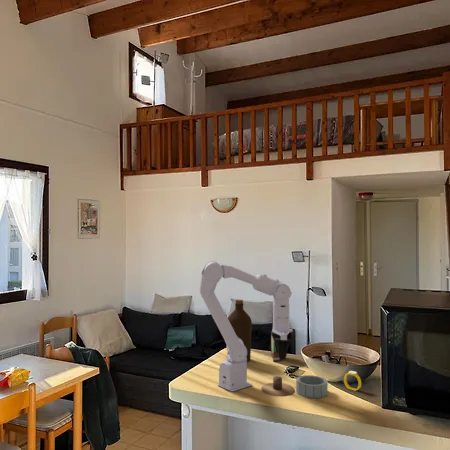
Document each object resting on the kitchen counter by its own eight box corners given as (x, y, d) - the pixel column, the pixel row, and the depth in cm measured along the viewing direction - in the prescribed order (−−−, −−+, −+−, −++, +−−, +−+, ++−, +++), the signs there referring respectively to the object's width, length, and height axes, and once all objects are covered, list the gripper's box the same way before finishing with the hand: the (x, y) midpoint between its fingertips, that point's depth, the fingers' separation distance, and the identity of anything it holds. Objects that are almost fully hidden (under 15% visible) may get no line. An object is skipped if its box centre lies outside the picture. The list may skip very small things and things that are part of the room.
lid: (278, 399, 137) (278, 386, 137) (254, 390, 146) (254, 377, 146) (300, 391, 144) (300, 378, 145) (276, 382, 153) (276, 370, 153)
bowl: (314, 400, 136) (314, 388, 136) (290, 391, 143) (290, 379, 143) (333, 393, 142) (333, 381, 142) (309, 384, 150) (309, 373, 150)
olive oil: (245, 355, 185) (245, 297, 185) (256, 362, 175) (256, 301, 175) (222, 358, 181) (222, 298, 181) (232, 365, 171) (232, 302, 172)
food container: (288, 363, 175) (288, 338, 175) (273, 362, 175) (273, 338, 175) (285, 354, 187) (285, 331, 187) (270, 354, 187) (271, 331, 187)
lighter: (340, 380, 154) (340, 358, 154) (337, 382, 153) (337, 359, 153) (324, 375, 159) (324, 354, 160) (321, 376, 158) (321, 354, 158)
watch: (362, 391, 145) (363, 374, 144) (357, 393, 143) (358, 376, 143) (346, 385, 149) (347, 368, 149) (342, 387, 147) (343, 370, 147)
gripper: (296, 321, 144) (295, 361, 144) (288, 313, 158) (288, 349, 158) (275, 321, 144) (274, 361, 144) (269, 313, 158) (269, 349, 158)
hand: (280, 355), depth 151 cm, fingers open, 7 cm apart
